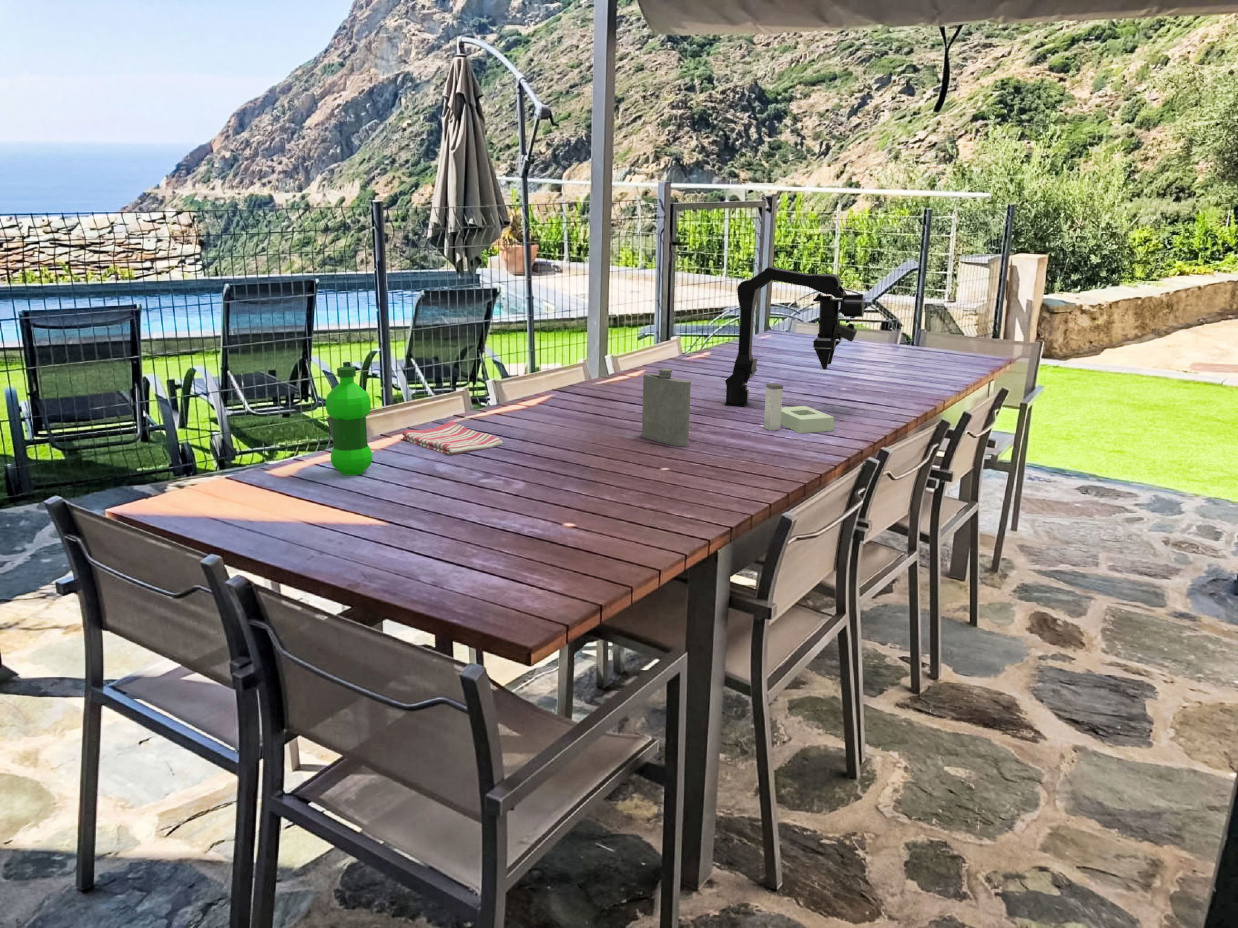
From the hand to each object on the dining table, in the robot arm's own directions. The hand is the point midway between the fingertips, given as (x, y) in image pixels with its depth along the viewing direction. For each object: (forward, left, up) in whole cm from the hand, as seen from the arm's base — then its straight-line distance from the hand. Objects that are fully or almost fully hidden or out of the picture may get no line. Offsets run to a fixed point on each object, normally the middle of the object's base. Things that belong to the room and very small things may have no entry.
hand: (826, 366), depth 296 cm
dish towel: (-91, -75, -15) cm, 119 cm away
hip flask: (-38, -53, -15) cm, 67 cm away
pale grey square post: (-12, -28, -14) cm, 34 cm away
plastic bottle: (-100, -109, -15) cm, 149 cm away
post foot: (-4, -21, -14) cm, 26 cm away
